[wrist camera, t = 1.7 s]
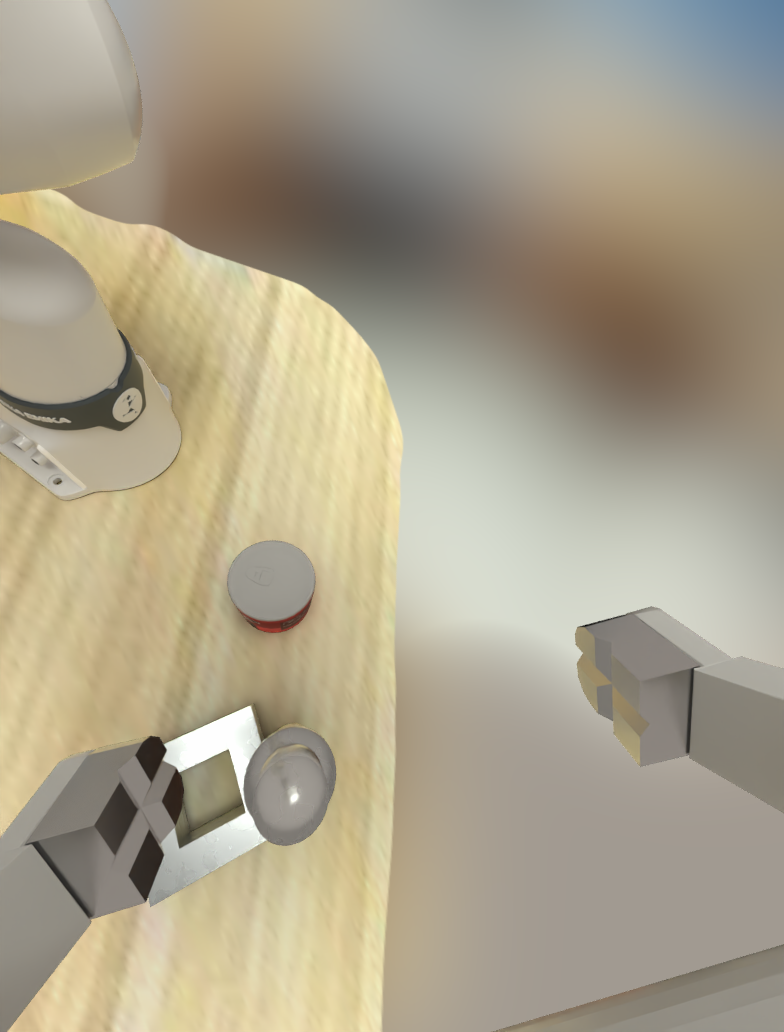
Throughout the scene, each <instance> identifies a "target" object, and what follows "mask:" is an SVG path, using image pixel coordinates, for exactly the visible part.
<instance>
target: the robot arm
mask: <svg viewBox="0 0 784 1032" xmlns="http://www.w3.org/2000/svg"><path fill="white" fill-rule="evenodd" d="M142 109H143V108H142V99H141V90H140V85H139V80H138V76H137V72H136V68H135V64H134V61H133V58H132V55H131V52H130V49H129V47H128V44H127V42H126V39H125V37H124V34H123V32H122V29H121V27H120V25H119V23H118V21H117V19H116V17H115V15H114V13H113V11H112V9H111V7H110V5H109V3H108V2H107V0H0V195H2V194H11V193H19V192H28V191H37V190H46V189H55V188H63V187H69V186H72V185H75V184H77V183H81V182H83V181H86V180H89V179H92V178H95V177H97V176H100V175H103V174H105V173H107V172H110V171H112V170H115V169H117V168H119V167H122V166H124V165H127V164H129V163H131V162H132V161H133V160H134V158H135V156H136V153H137V150H138V147H139V143H140V139H141V133H142V124H143V123H142V121H143V114H142V113H143V110H142ZM171 407H172V395H171V392H170V391H169V389H168V387H167V386H166V385H164V384H161V383H158V382H157V381H156V379H155V378H154V376H153V374H152V373H151V371H150V369H149V368H148V366H147V364H146V363H145V361H144V360H143V358H142V357H140V356H139V355H136V353H135V351H134V349H133V348H132V347H131V345H130V343H129V342H128V341H127V339H126V337H125V336H124V335H123V334H122V332H121V331H120V330H119V329H117V328H116V326H115V324H114V322H113V320H112V318H111V316H110V314H109V312H108V310H107V308H106V306H105V304H104V301H103V299H102V297H101V295H100V293H99V291H98V289H97V287H96V285H95V283H94V281H93V279H92V277H91V276H90V274H89V273H88V272H87V270H86V269H85V268H84V267H83V266H82V264H81V263H80V262H79V261H78V260H77V259H76V258H74V257H73V256H72V255H71V254H70V253H68V252H67V251H66V250H64V249H63V248H61V247H60V246H58V245H57V244H55V243H54V242H52V241H51V240H49V239H47V238H45V237H44V236H42V235H40V234H39V233H37V232H35V231H33V230H31V229H28V228H26V227H23V226H21V225H18V224H14V223H11V222H8V221H4V220H1V219H0V453H2V454H3V455H4V456H5V457H7V458H8V459H9V460H10V461H12V462H13V463H14V464H16V465H17V466H18V467H19V468H21V469H22V470H23V471H25V472H26V473H27V474H28V475H30V476H31V477H32V478H34V479H35V480H36V481H37V482H39V483H40V484H41V485H42V486H44V487H45V488H46V489H48V490H49V491H50V492H51V493H53V494H54V495H55V496H57V497H58V498H60V499H62V500H72V499H76V498H79V497H82V496H85V495H87V494H90V493H92V492H98V491H114V490H123V489H128V488H132V487H135V486H138V485H141V484H144V483H146V482H148V481H150V480H152V479H153V478H155V477H157V476H158V475H159V474H161V473H162V472H163V471H164V470H165V469H166V468H167V467H168V466H169V465H170V464H171V463H172V462H173V460H174V459H175V457H176V455H177V453H178V451H179V448H180V444H181V430H180V426H179V423H178V421H177V419H176V417H175V415H174V413H173V411H172V408H171ZM59 481H62V482H61V484H59V485H56V484H57V482H59ZM575 642H576V645H577V647H579V649H580V650H581V651H582V652H583V654H582V656H581V658H580V659H579V661H578V662H577V669H578V678H579V680H580V683H581V686H582V689H583V692H584V694H585V695H586V697H587V699H588V700H589V702H590V704H591V705H592V706H593V708H594V709H595V710H596V712H597V713H598V714H600V715H602V716H604V717H606V718H608V719H610V720H612V721H613V727H614V735H615V736H616V737H617V738H618V740H619V741H620V742H621V743H622V745H623V746H624V747H625V748H626V749H627V751H628V752H629V753H630V755H631V756H632V757H633V759H634V760H635V761H636V762H637V764H638V765H639V766H640V767H641V766H646V765H650V764H654V763H658V762H662V761H667V760H671V759H675V758H679V757H683V756H687V755H689V758H690V759H692V760H693V761H695V762H697V763H699V764H700V765H702V766H704V767H706V768H707V769H709V770H711V771H712V772H714V773H716V774H718V775H719V776H721V777H723V778H724V779H726V780H728V781H730V782H731V783H733V784H735V785H736V786H738V787H740V788H742V789H743V790H745V791H747V792H748V793H750V794H752V795H754V796H755V797H757V798H759V799H760V800H762V801H764V802H766V803H767V804H769V805H771V806H772V807H774V808H776V809H778V810H779V811H781V812H783V813H784V669H783V668H780V667H776V666H773V665H769V664H766V663H763V662H759V661H755V660H752V659H749V658H745V657H737V658H734V659H733V658H731V657H730V656H728V655H727V654H725V653H724V652H722V651H721V650H719V649H718V648H717V647H715V646H713V645H712V644H711V643H709V642H708V641H706V640H705V639H703V638H702V637H700V636H699V635H698V634H696V633H695V632H693V631H692V630H690V629H689V628H687V627H686V626H684V625H683V624H681V623H680V622H679V621H677V620H676V619H674V618H672V617H671V616H670V615H668V614H667V613H665V612H664V611H662V610H661V609H659V608H655V607H648V608H644V609H641V610H637V611H634V612H630V613H627V614H626V615H621V616H617V617H614V618H610V619H606V620H602V621H598V622H595V623H591V624H587V625H583V626H579V627H577V629H576V633H575ZM166 752H167V749H166V747H165V746H164V744H163V742H162V741H161V739H160V737H155V736H148V737H144V738H140V739H135V740H131V741H127V742H122V743H118V744H114V745H109V746H105V747H101V748H98V749H95V750H90V751H86V752H82V753H77V754H73V755H70V756H68V757H67V758H65V759H63V760H62V761H60V762H59V763H58V764H57V766H56V767H55V768H54V769H53V771H52V772H51V773H50V775H49V776H48V777H47V778H46V780H45V781H44V782H43V784H42V785H41V786H40V787H39V789H38V790H37V791H36V793H35V794H34V795H33V796H32V798H31V799H30V800H29V802H28V803H27V804H26V805H25V807H24V808H23V809H22V811H21V812H20V813H19V814H18V816H17V817H16V818H15V820H14V821H13V822H12V823H11V825H10V826H9V827H8V829H7V830H6V831H5V832H4V834H3V835H2V836H1V838H0V1032H7V1031H8V1030H9V1029H10V1027H11V1026H12V1025H13V1023H14V1022H15V1021H16V1020H17V1018H18V1017H19V1016H20V1014H21V1013H22V1012H23V1010H24V1009H25V1008H26V1007H27V1005H28V1004H29V1003H30V1001H31V1000H32V999H33V998H34V996H35V995H36V994H37V992H38V991H39V990H40V989H41V987H42V986H43V985H44V983H45V982H46V981H47V980H48V978H49V977H50V976H51V974H52V973H53V972H54V970H55V969H56V968H57V967H58V965H59V964H60V963H61V961H62V960H63V959H64V958H65V956H66V955H67V954H68V952H69V951H70V950H71V949H72V947H73V946H74V945H75V943H76V942H77V941H78V940H79V938H80V937H81V936H82V934H83V933H84V932H85V930H86V929H87V928H88V927H89V925H90V924H91V922H92V921H91V920H90V919H93V918H97V917H100V916H103V915H106V914H110V913H113V912H116V911H119V910H123V909H126V908H129V907H132V906H136V905H139V904H142V903H145V902H146V901H147V898H148V896H149V893H150V891H151V888H152V885H153V883H154V880H155V878H156V875H157V873H158V870H159V868H160V865H161V863H162V860H163V857H164V851H163V847H162V844H161V842H162V841H163V840H164V839H165V838H166V837H167V836H168V834H169V833H170V832H171V831H172V830H173V829H174V828H175V826H176V824H177V821H178V818H179V816H180V813H181V810H182V804H183V794H184V788H183V783H182V777H181V775H180V773H179V771H178V769H177V767H175V766H173V765H171V764H169V763H167V762H165V761H164V758H165V755H166ZM493 1032H784V944H783V945H780V946H776V947H773V948H770V949H766V950H763V951H760V952H756V953H753V954H750V955H746V956H743V957H740V958H736V959H733V960H730V961H726V962H723V963H720V964H716V965H713V966H710V967H706V968H703V969H700V970H696V971H693V972H689V973H686V974H683V975H680V976H676V977H673V978H670V979H666V980H663V981H660V982H656V983H653V984H649V985H646V986H643V987H640V988H636V989H633V990H630V991H626V992H623V993H620V994H616V995H613V996H609V997H606V998H603V999H599V1000H596V1001H593V1002H589V1003H586V1004H583V1005H580V1006H576V1007H573V1008H569V1009H566V1010H563V1011H560V1012H557V1013H553V1014H549V1015H546V1016H543V1017H539V1018H536V1019H533V1020H529V1021H527V1022H523V1023H519V1024H517V1025H513V1026H510V1027H506V1028H503V1029H499V1030H496V1031H493Z"/></svg>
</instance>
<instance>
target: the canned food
mask: <svg viewBox="0 0 784 1032" xmlns="http://www.w3.org/2000/svg"><path fill="white" fill-rule="evenodd" d="M227 585H228V591H229V595H230V597H231V599H232V601H233V603H234V605H235V606H236V607H237V609H238V610H239V611H240V613H241V614H242V615H243V616H244V618H245V619H246V620H247V622H249V623H250V624H251V625H252V626H253V627H255V628H257V629H259V630H262V631H265V632H272V633H273V632H282V631H286V630H288V629H290V628H293V627H294V626H296V625H297V624H298V623H299V622H300V621H301V620H302V619H303V618H304V617H305V615H306V614H307V611H308V609H309V606H310V603H311V600H312V596H313V593H314V588H315V573H314V569H313V566H312V564H311V562H310V560H309V558H308V557H307V556H306V555H305V553H303V552H302V551H301V550H300V549H299V548H297V547H295V546H294V545H292V544H289V543H286V542H282V541H264V542H259V543H256V544H254V545H251V546H250V547H248V548H246V549H245V550H243V551H242V552H241V553H240V554H239V555H238V556H237V557H236V559H235V560H234V561H233V563H232V565H231V567H230V569H229V573H228V581H227Z"/></svg>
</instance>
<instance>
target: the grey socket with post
mask: <svg viewBox="0 0 784 1032" xmlns="http://www.w3.org/2000/svg"><path fill="white" fill-rule="evenodd" d="M164 746H165V747H166V749H167V752H166V755H165V758H164V761H165V762H167V763H169V764H171V765H173V766H175V767H177V769H178V771H179V772H181V771H183V770H186V769H188V768H190V767H192V766H194V765H196V764H198V763H200V762H202V761H204V760H207V759H209V758H211V757H213V756H215V755H217V754H219V753H221V752H223V751H226V750H228V749H229V751H230V755H231V758H232V762H233V766H234V770H235V773H236V777H237V781H238V785H239V789H240V792H241V796H242V800H243V804H242V805H241V806H239V807H237V808H235V809H233V810H231V811H229V812H227V813H225V814H224V815H222V816H220V817H218V818H216V819H214V820H212V821H210V822H208V823H207V824H205V825H203V826H201V827H199V828H197V829H195V830H193V831H192V832H190V830H189V825H188V821H187V817H186V812H185V808H184V803H183V804H182V810H181V813H180V816H179V818H178V821H177V824H176V826H175V828H174V829H173V830H172V831H171V832H170V833H169V834H168V836H167V837H166V838H165V839H164V840H163V841H162V842H161V844H162V847H163V851H164V857H163V860H162V863H161V865H160V868H159V870H158V873H157V875H156V878H155V880H154V883H153V885H152V888H151V891H150V893H149V896H148V898H149V903H150V907H151V906H153V905H155V904H157V903H158V902H160V901H162V900H164V899H165V898H167V897H169V896H171V895H172V894H174V893H176V892H177V891H179V890H181V889H183V888H184V887H186V886H188V885H190V884H191V883H193V882H195V881H197V880H198V879H200V878H202V877H204V876H205V875H207V874H209V873H211V872H212V871H214V870H216V869H218V868H219V867H221V866H223V865H224V864H226V863H228V862H230V861H231V860H233V859H235V858H237V857H238V856H240V855H242V854H244V853H245V852H247V851H249V850H251V849H252V848H254V847H256V846H258V845H259V844H261V843H263V842H265V841H266V840H268V841H269V842H271V843H273V844H276V845H282V846H287V845H293V844H296V843H299V842H301V841H303V840H304V839H306V838H307V837H309V836H310V835H311V834H312V833H313V832H314V831H315V830H316V829H317V827H318V826H319V825H320V823H321V821H322V820H323V817H324V815H325V813H326V810H327V806H328V803H329V801H330V799H331V796H332V793H333V790H334V786H335V780H336V766H335V760H334V757H333V754H332V751H331V749H330V748H329V746H328V744H327V742H326V741H325V740H324V738H323V737H322V736H321V735H319V734H318V733H317V732H315V731H314V730H312V729H309V728H307V727H303V726H302V725H300V724H296V723H289V724H286V725H283V726H282V727H280V728H279V729H278V730H277V731H275V732H274V733H272V734H271V735H269V736H268V737H267V738H266V739H264V737H263V733H262V730H261V726H260V723H259V719H258V716H257V712H256V709H255V706H254V703H253V704H251V705H249V706H247V707H244V708H242V709H240V710H238V711H235V712H233V713H231V714H229V715H227V716H224V717H222V718H220V719H218V720H215V721H213V722H211V723H209V724H206V725H204V726H202V727H200V728H197V729H195V730H193V731H191V732H188V733H186V734H184V735H182V736H179V737H177V738H175V739H173V740H170V741H168V742H166V743H164Z"/></svg>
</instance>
